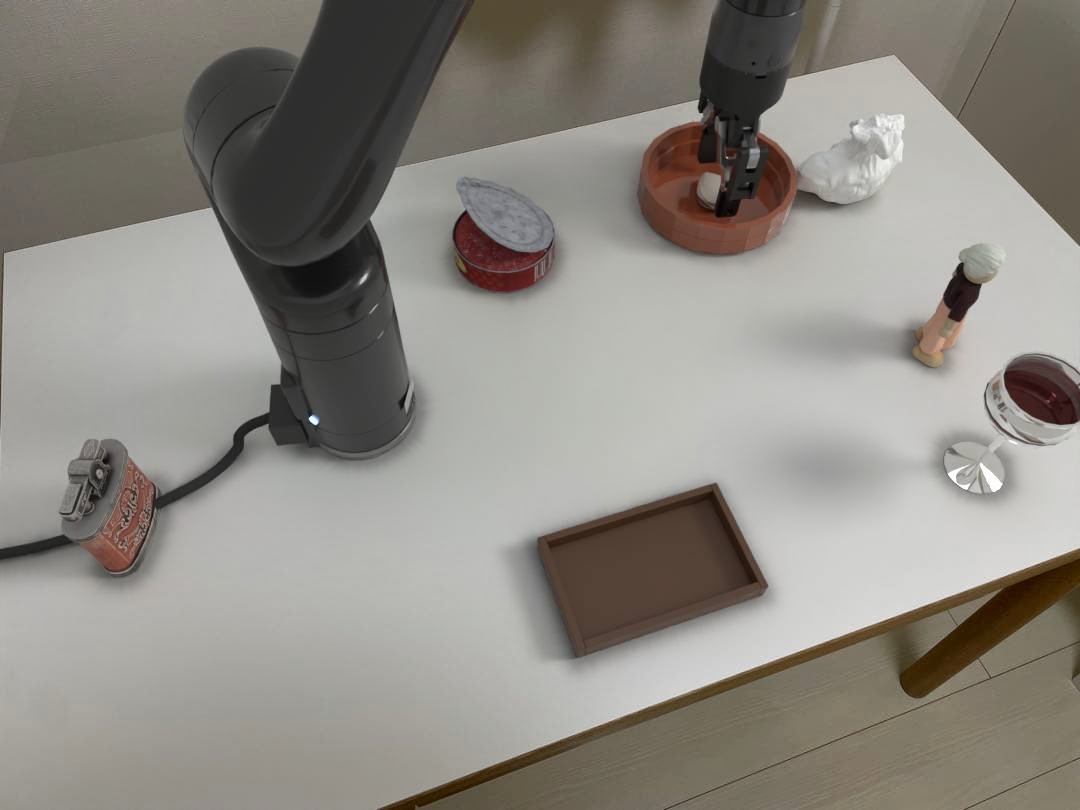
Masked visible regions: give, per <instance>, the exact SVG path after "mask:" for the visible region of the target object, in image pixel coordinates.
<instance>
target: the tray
mask: <svg viewBox="0 0 1080 810" xmlns="http://www.w3.org/2000/svg"><path fill="white" fill-rule="evenodd" d="M536 543H537V544H536V549H537V551H538V555H539V557H540V561H541V562H542V565H543V568H544V571H545V574H546V577H547V579H548V582H549V585H550V588H551V590H552V594H553V596H554V599H555V602H556V604H557V608H558V610H559V614H560V616H561V619H562V621H563V624H564V627H565V630H566V632H567V635H568V638H569V640H570V643H571V646H572V649H573V652H574V655H575V657H576V659H579V658H582V657H586V656H588V655H591V654H594V653H597V652H600V651H603V650H605V649H608V648H612V647H614V646H618V645H620V644H623V643H626V642H629V641H632V640H635V639H638V638H641V637H644V636H647V635H649V634H652V633H656V632H659V631H663V630H664V629H667V628H670V627H673V626H676V625H679V624H682V623H685V622H689V621H691V620H694V619H697V618H699V617H703V616H706V615H708V614H712V613H715V612H717V611H721V610H723V609H726V608H730V607H732V606H736V605H738V604H741V603H745V602H747V601H750V600H753V599H756V598H758V597H762V596H764V593H765V592H766V590H767V589H768V588H769V584H768V582H767V580H766V578H765V576H764V574H763V572H762V570H761V568H760V566H759V564H758V562H757V559H756V558H755V556H754V555H753V551H752V550H751V549H750V546H749V544H748V542H747V540H746V538H745V536H744V535H743V532H742V531H741V529H740V526H739V524H738V523H737V520H736V519H735V517H734V514H733V512H732V511H731V509H730V506H729V504H728V503H727V500H726V499H725V497H724V494H723V493H722V489H720V487H719V485H718V482H714V483H710V484H707V485H703V486H700V487H697V488H694V489H690V490H686V491H684V492H681V493H678V494H675V495H671V496H667V497H665V498H664V497H663V498H662V499H657V500H655V501H652V502H649V503H645V504H641V505H639V506H635V507H632V508H629V509H625V510H623V511H620V512H616V513H613V514H610V515H606V516H602V517H600V518H597V519H594V520H590V521H587V522H583V523H581V524H578V525H574V526H571V527H567V528H564V529H561V530H557V531H555V532H552V533H551V532H550V533H549V534H545V535H541V536H539V537H537V539H536Z"/></svg>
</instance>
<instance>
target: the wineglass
mask: <svg viewBox="0 0 1080 810" xmlns="http://www.w3.org/2000/svg"><path fill="white" fill-rule="evenodd" d="M982 402H983V412H984V414H985V417H986V419H987V421H988V423H989V424H990V425H991V426H992V428H993V429H994V430H995V431H996V432H997V433H998V434H997V435H996V436H995V438H994V439H993V440H992V442H991V443H990V444H988V447H986V446H984V445H982V444H979V443H977V442H973V441H960V442H956V443H955V444H952V445H950V446H949V448H947V449H946V451H945V453H944V457H943V463H944V468H945V471H946V473H947V475H948V476H949V477H950V479H951V480H952V481H953V482H954V483H955V484H957V485H958V487H960V488H961V489H964V490H966V491H968V492H970V493H973V494H980V495H984V494H991V493H994V492H996V491H997V490H999V489H1000V488H1001V486H1002V485H1003V484H1004V481H1005V478H1006V475H1005V474H1006V473H1005V467H1004V465H1003V463H1002V460H1001V459H1000V458H999V457H998V456H997V454H995V453H994V452H995V451H996V450H997V449H998V448H1000V446H1002V445H1003V444H1004V443H1005V442H1006V441H1009V442H1011V443H1013V444H1015V445H1019V446H1021V447H1026V448H1031V449H1042V448H1043V449H1044V448H1049V447H1055V446H1056V445H1059V444H1060V443H1063V442H1065V441H1067V440H1069V439H1071V438H1072V437H1073V436H1074V435H1075V434H1076V433H1077V431H1079V429H1080V368H1079V367H1078V366H1076V365H1075V364H1073V363H1072V362H1070V361H1068V360H1067V359H1065V358H1063V357H1061V356H1058V355H1055V354H1053V353H1051V352H1044V351H1037V350H1032V351H1031V350H1030V351H1022V352H1019V353H1016V354H1015V355H1012V356H1011V357H1009V359H1007V361H1005V363H1004V364H1003V366H1002V368H1001V369H1000V370H998V371H997V372H996V373H995V374H994V375H993V376H992V377H991V378H990V379H989V381H988V382H987V383H986V387H985V389H984V392H983V401H982Z"/></svg>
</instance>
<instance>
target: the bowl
mask: <svg viewBox="0 0 1080 810" xmlns="http://www.w3.org/2000/svg"><path fill="white" fill-rule="evenodd" d="M700 123H701V120H699V121H690V122H686V123H683V124H679V125H676V126H673V127H671V128H668V129H667V130H665V131H664V132H662V133H661V134H660V135H658V136H656V137H655V138H654V139H652V141H651V143H650V144H649V145H648V147H646V150H645V151H644V153H643V156H642V161H641V166H640V173H639V179H638V184H637V185H638V186H637V192H636V196H637V200H638V204H639V208H640V212H641V213H642V215H643V216H644V218H645V219H646V220H647V222H648V223H649V224H650V226H651V228H652V229H654V230H655V231H656V232H657V233H659V235H661V236H662V237H663V238H665V239H667V240H668V241H670V242H672V243H673V244H675V245H677V246H679V247H682V248H684V249H687V250H689V251H693V252H697V253H701V254H707V255H733V254H740V253H744V252H747V251H750V250H753V249H756V248H758V247H761V246H764V245H765V244H766V243H768V242H769V241H771V240H772V239H773V238H774V237H775V236H777V235H778V234H780V232H781V230H782V228H783V227H784V225H785V222H786V221H787V220H788V217H789V214H790V211H791V208H792V206H793V204H794V200H795V198H796V196H797V195H796V194H797V191H798V189H797V173H796V168H795V165H794V163H793V160H792V158H791V157H790V155H789V154H788V153H787V152H785V150H784V149H783V148H782V147H781V146H780V145H779V143H777V142H776V141H775V140H774V139H771V138H769V137H768V136H767V135H765V134H764V133H762V132H759V133H758V135H757V145H758V146H765V145H766V146H767V147H768V158H767V161H766V164H765V167H764V170H763V173H762V177H761V180H760V183H759V186H758V189H757V193H756V196H755V198H754V199H741V202H740V205H739V209H738V212H737V214H736V215H735V216H733V217H724V218H717V217H716V216H715V213H714V210H711V209H708V208H705V207H703V206H701V204H700V203H699V201H698V198H697V195H696V192H697V186H698V182H699V180H700V178H701V176H702V174H703V173H705V172H708V173H713V174H717V175H720V176H721V166H719V165H718V164H717V162H715V163H703V164H702V163H699V161H698V158H697V154H698V149H699V145H700V140H701V135H702V129H701V126H700ZM735 154H737V150H726V157H732V156H734V155H735ZM732 169H733V167H731V168H730V176H731V172H732Z"/></svg>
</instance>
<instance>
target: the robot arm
mask: <svg viewBox="0 0 1080 810" xmlns="http://www.w3.org/2000/svg"><path fill="white" fill-rule="evenodd" d="M475 1H476V0H321V1H320V2H321V3H320V6H319V10H318V12H317V16H316V19H315V22H314V24H313V27H312V29H311V32H310V35H309V38H308V40H307V42H306V44H305V47H304V48H303V50H302V53H301V55H300V56H299V55H297V54H295V53H293V52H290V51H289V50H285V49H283V48H282V49H281V48H278V47H274V46H266V45H255V46H254V45H252V46H244V47H241V48H237V49H233V50H231V51H228V52H226V53H225V54H224V53H223V55H220V56H219V57H217V58H215V59H214V60H212V61H211V62H210V63H209V64H208V65H206V67H204V68H203V70H202V71H201V72H200V73H199V74H198V76H197V77H196V78H195V80H194V81H193V83H192V85H191V87H190V89H189V90H188V93H187V95H186V98H185V102H184V105H183V111H182V120H181V121H182V136H183V141H184V145H185V148H186V152H187V154H188V157H189V158H190V161H191V164H192V166H193V168H194V171H195V173H196V175H197V178H198V180H199V182H200V184H201V187H202V189H203V191H204V193H205V196H206V198H207V200H208V202H209V205H210V207H211V209H212V212H213V213H214V216H215V218H216V220H217V222H218V225H219V227H220V229H221V232H222V234H223V236H224V238H225V241H226V243H227V246H228V248H229V251H230V252H231V255H232V257H233V259H234V261H235V262H236V263H235V264H236V265H237V267H238V269H239V271H240V273H241V275H242V277H243V279H244V282H245V283H246V286H247V288H248V289H249V292H250V293H251V296H252V298H253V300H254V302H255V305H256V307H257V309H258V311H259V314H260V316H261V318H262V321H263V323H264V326H265V328H266V330H267V332H268V335H269V337H270V340H271V342H272V344H273V346H274V349H275V351H276V353H277V356H278V358H279V361H280V375H279V383H275V384H271V385H270V391H269V393H270V395H269V408H268V409H269V411H268V412H266V413H264V414H261V415H258V416H256V417H253V418H250V419H249V420H247V421H245V422H243V423H242V424H241V425H240V426H239V427H238V428H237V429H235V432H233V436H232V446H231V447H230V449H229V450H228V451H227V453H226V454H225V455H224V456H223V457H222V458H221V459H220V460H219V461H218V462H216V463H215V464H214V465H213V466H212V467H211V468H209V469H208V470H206V471H205V472H203V473H201V474H200V475H199V476H197V477H195V478H193V479H191V480H190V481H188V482H187V483H184V484H182V485H180V486H179V487H177V488H175V489H173V490H171V491H169V492H167V493H164V494H163V495H161V497H159V498H157V499H155V500H153V509H154V508H155V507H156V509H157V510H159V509H160V510H161V509H162V508H164V507H167V506H169V505H171V504H172V503H174V502H176V501H179V500H180V499H183V498H185V497H187V496H188V495H190V494H192V493H193V492H196V491H197V490H199V489H201V488H203V487H204V486H206V485H207V484H209V483H210V482H212V481H213V480H215V479H216V478H218V477H219V476H220V475H221V474H222V473H223V472H225V471H226V470H227V469H228V468H229V467H230V466H231V465H232V464H233V463H234V462H236V460H237V459H238V457H239V456H240V455H241V453H242V452H243V450H244V448H245V437H246V436H247V435H249V433H251V432H253V431H254V430H257V429H259V428H261V427H265V426H267V427H268V430H269V433H270V434H271V437H272V439H273V441H274V442H275V445H276V446H277V447H279V446H281V447H282V446H290V445H291V446H292V445H301V444H302V445H303V444H306V446H307V448H311V449H312V448H320V449H322V450H323V451H324V452H326V453H328V454H330V455H332V456H335V457H337V458H341V459H347V460H367V459H370V458H371V459H372V458H374V457H378V456H380V455H383V454H385V453H387V452H389V451H391V450H392V449H394V448H395V447H397V446H398V445H399V444H400V443H402V441H403V440H404V439H405V438H407V436H408V434H409V433H410V431H411V430H412V429H413V426H414V424H415V421H416V416H417V400H416V395H415V392H414V389H415V381H414V376H413V375H411V377H410V373H409V368H408V362H407V358H406V353H405V349H404V344H403V343H404V342H403V338H402V335H401V328H400V325H399V320H398V315H397V311H396V306H395V300H394V296H393V292H392V287H391V282H390V277H389V272H388V267H387V263H386V259H385V254H384V250H383V247H382V243H381V240H380V238H379V235H378V233H377V231H376V229H375V227H374V224H373V222H372V219H371V218H372V216H373V215H374V213H375V211H376V209H377V208H378V206H379V204H380V202H381V201H382V198H383V197H384V194H385V192H386V190H387V188H388V186H389V185H390V182H391V180H392V178H393V175H394V173H395V170H396V168H397V166H398V164H399V161H400V159H401V157H402V154H403V151H404V150H405V147H406V145H407V142H408V140H409V138H410V136H411V133H412V131H413V128H414V126H415V125H416V122H417V119H418V117H419V114H420V112H421V110H422V108H423V105H424V103H425V102H426V98H427V96H428V94H429V92H430V90H431V88H432V85H433V83H434V81H435V79H436V76H437V74H438V73H439V70H440V68H441V66H442V64H443V62H444V60H445V58H446V56H447V54H448V52H449V50H450V48H451V46H452V44H453V43H454V40H455V39H456V37H457V35H458V34H459V31H460V30H461V28H462V26H463V24H464V22H465V20H466V19H467V16H468V15H469V13H470V11H471V8H472V7H473V5H474V3H475ZM807 3H808V0H715V2H714V6H713V9H712V13H711V16H710V17H711V18H710V23H709V28H708V33H707V37H706V38H707V39H706V43H705V49H704V54H703V59H702V63H701V67H700V73H699V81H698V82H699V88H700V93H699V99H698V103H697V110H698V111H697V112H698V114H702V117H701V119H700V121H701V123H700V126H701V129H702V135H701V140H700V145H699V149H698V154H697V158H698V161H699V163H702V164H703V163H715V162H717V164H718V165H719V166H721V184H720V188H719V192H718V196H717V200H716V204H715V208H714V213H715V216H716V217H717V218H724V217H733V216H735V215H736V214H737V212H738V209H739V205H740V202H741V199H754V198H755V196H756V193H757V189H758V186H759V183H760V180H761V177H762V173H763V170H764V167H765V164H766V161H767V158H768V147H767V146H766V145H765V146H758V145H757V135H758V133H759V132H760V131H761V125H762V124H761V121H762V118H761V117H762V115H763V114H764V113H765V112H767V111H768V110H769V109H771V108H772V107H774V106H775V105H776V104H778V103H779V101H780V100H781V99H782V97H783V95H784V91H785V88H786V85H787V82H788V78H789V74H790V71H791V67H792V65H793V61H794V57H795V56H796V55H795V54H796V51H797V47H798V44H799V42H800V37H801V34H802V31H803V28H804V21H805V16H806V8H807ZM760 133H761V132H760ZM726 150H737V154H735V155H734V156H732V157H726ZM731 167H733V169H732V172H731V176H730V168H731ZM75 543H76V542H73V541H72V540H70V539H69V538H67V537H66V536H65V535H64V533H63V534H60V535H57V536H52V537H49V538H46V539H41V540H37V541H33V542H28V543H24V544H19V545H14V546H8V547H2V548H0V561H1V560H8V559H14V558H19V557H23V556H29V555H34V554H37V553H42V552H46V551H50V550H54V549H58V548H61V547H65V546H68V545H71V544H75Z"/></svg>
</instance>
